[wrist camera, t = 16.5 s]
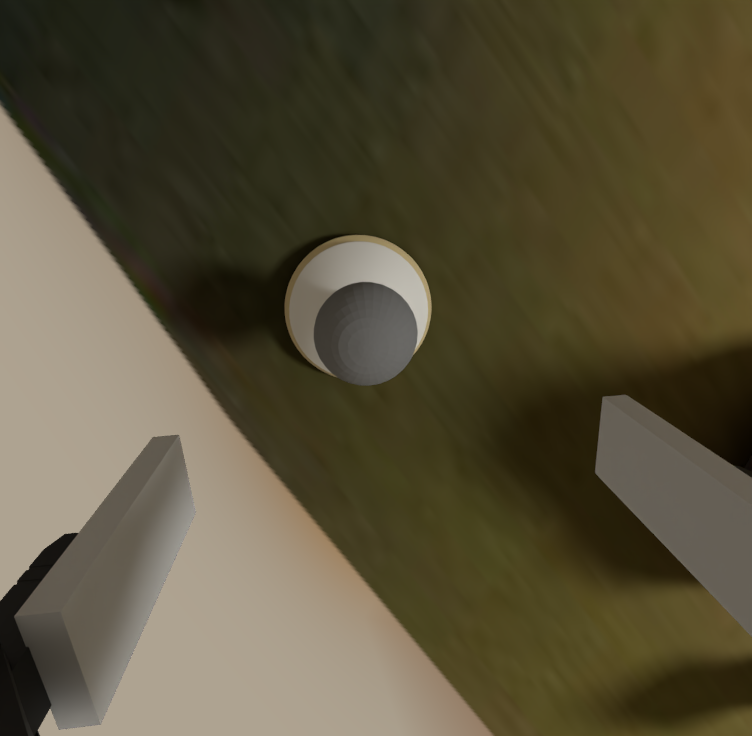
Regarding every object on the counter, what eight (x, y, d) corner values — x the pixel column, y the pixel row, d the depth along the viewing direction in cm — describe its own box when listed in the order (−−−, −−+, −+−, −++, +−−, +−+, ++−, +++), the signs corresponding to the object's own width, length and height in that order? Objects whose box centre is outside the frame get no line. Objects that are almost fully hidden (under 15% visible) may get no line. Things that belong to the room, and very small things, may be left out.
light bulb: (342, 362, 36) (343, 419, 26) (303, 289, 34) (289, 324, 24) (415, 326, 35) (443, 372, 26) (380, 251, 33) (396, 271, 24)
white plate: (289, 226, 34) (287, 227, 32) (438, 242, 35) (443, 244, 34) (282, 370, 38) (280, 378, 36) (418, 380, 39) (422, 388, 37)
